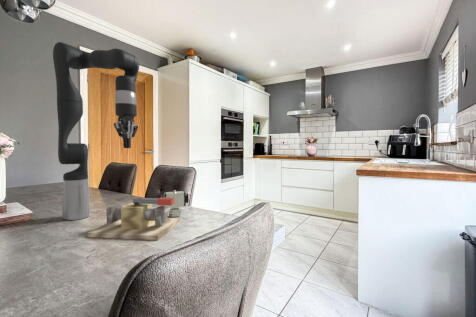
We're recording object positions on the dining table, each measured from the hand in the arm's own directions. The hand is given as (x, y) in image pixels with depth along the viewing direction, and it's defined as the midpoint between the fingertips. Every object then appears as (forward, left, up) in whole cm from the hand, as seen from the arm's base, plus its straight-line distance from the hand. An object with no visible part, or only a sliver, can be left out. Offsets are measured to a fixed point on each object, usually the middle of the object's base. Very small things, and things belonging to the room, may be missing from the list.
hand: (127, 148), depth 93 cm
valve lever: (+12, -4, -21) cm, 25 cm away
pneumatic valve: (+13, +15, -31) cm, 37 cm away
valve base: (+5, -3, -31) cm, 32 cm away
